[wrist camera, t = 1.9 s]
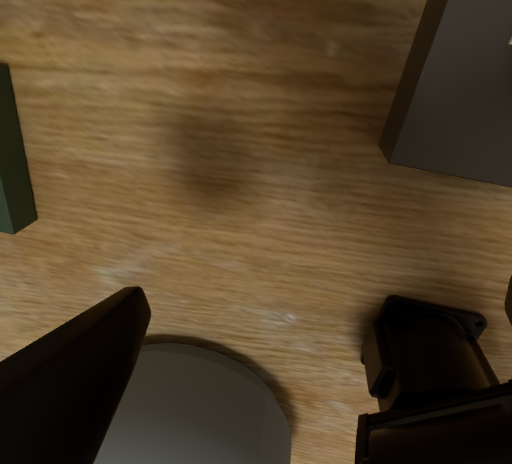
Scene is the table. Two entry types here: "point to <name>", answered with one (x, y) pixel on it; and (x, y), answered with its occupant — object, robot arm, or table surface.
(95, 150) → the table surface
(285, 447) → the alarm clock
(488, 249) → the table surface
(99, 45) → the table surface
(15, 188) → the housing
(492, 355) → the table surface
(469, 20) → the panel
